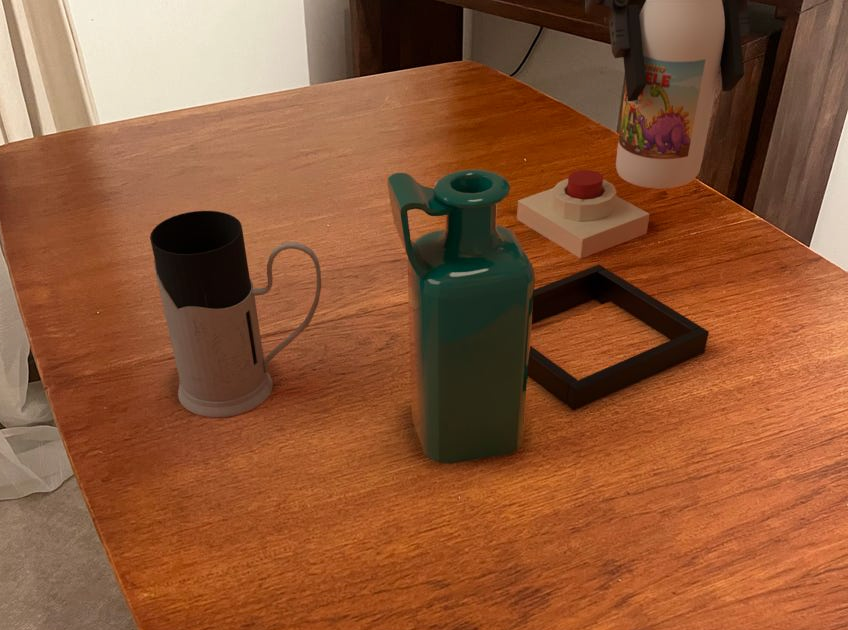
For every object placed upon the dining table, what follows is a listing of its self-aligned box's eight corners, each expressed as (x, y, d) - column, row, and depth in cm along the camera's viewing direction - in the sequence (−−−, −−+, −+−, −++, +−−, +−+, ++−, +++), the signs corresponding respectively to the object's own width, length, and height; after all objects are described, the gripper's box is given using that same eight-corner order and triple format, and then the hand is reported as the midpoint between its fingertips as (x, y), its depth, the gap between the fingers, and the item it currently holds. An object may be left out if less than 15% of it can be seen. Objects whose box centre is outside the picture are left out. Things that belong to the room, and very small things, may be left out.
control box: (646, 233, 108) (652, 196, 105) (580, 259, 106) (584, 221, 103) (580, 196, 115) (584, 160, 112) (516, 219, 112) (518, 183, 109)
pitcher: (502, 400, 90) (515, 145, 73) (528, 459, 84) (548, 197, 68) (393, 417, 89) (382, 163, 73) (412, 477, 83) (405, 216, 67)
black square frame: (703, 360, 92) (709, 331, 90) (572, 418, 88) (576, 389, 85) (595, 292, 101) (598, 263, 99) (472, 341, 96) (472, 313, 94)
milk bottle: (648, 147, 98) (685, -103, 83) (716, 170, 94) (768, -88, 79) (597, 174, 95) (626, -81, 80) (665, 199, 91) (710, -64, 76)
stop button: (608, 195, 107) (610, 178, 106) (581, 204, 106) (583, 188, 105) (586, 183, 109) (588, 166, 108) (559, 192, 108) (561, 175, 107)
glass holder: (186, 363, 97) (152, 208, 85) (334, 359, 96) (320, 202, 85) (170, 418, 91) (132, 260, 80) (328, 414, 90) (312, 254, 79)
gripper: (546, -216, 80) (576, 78, 82) (798, -240, 81) (825, 53, 82) (527, -148, 88) (555, 121, 89) (758, -170, 89) (783, 97, 90)
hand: (685, 88), depth 86 cm, fingers closed on milk bottle, 8 cm apart
